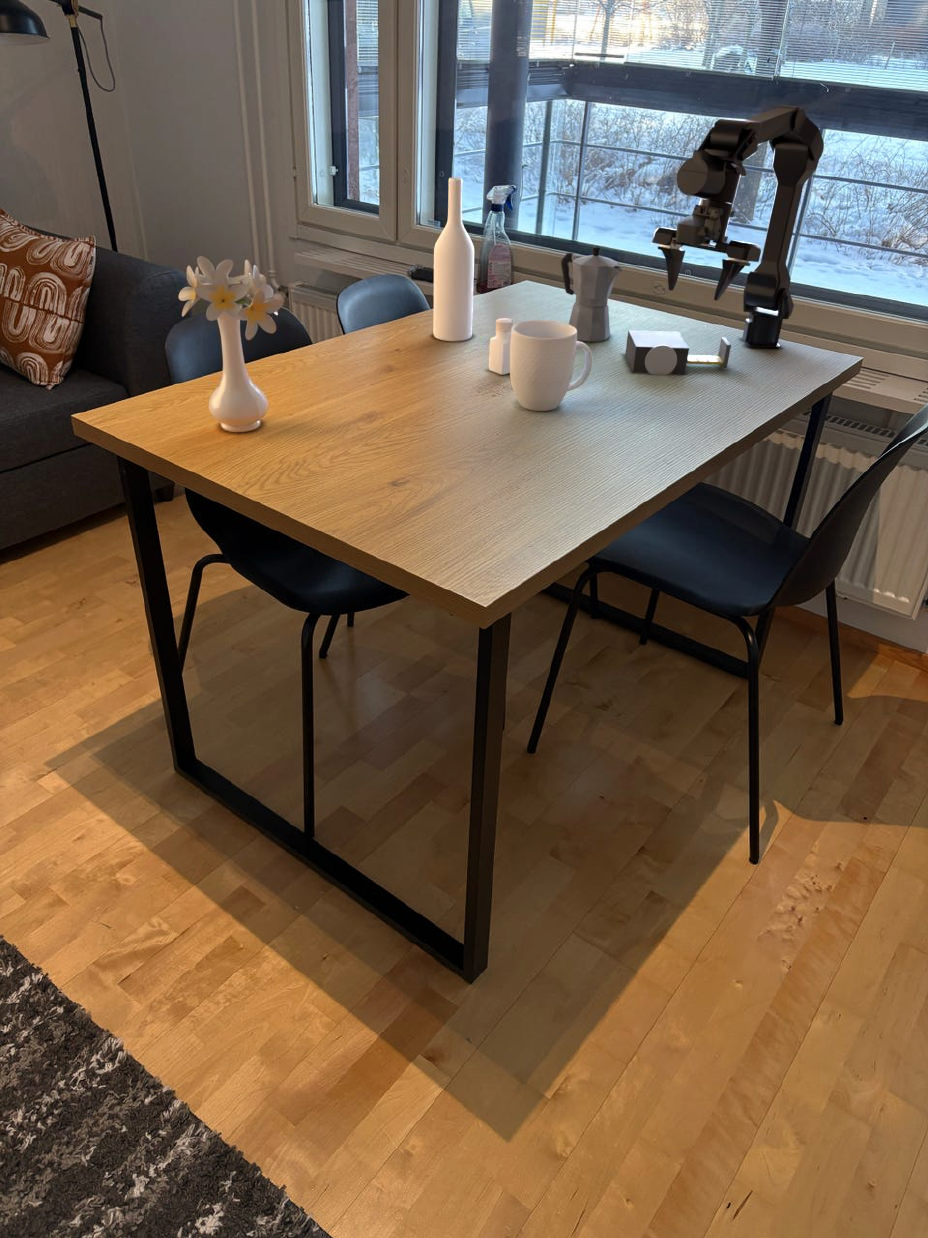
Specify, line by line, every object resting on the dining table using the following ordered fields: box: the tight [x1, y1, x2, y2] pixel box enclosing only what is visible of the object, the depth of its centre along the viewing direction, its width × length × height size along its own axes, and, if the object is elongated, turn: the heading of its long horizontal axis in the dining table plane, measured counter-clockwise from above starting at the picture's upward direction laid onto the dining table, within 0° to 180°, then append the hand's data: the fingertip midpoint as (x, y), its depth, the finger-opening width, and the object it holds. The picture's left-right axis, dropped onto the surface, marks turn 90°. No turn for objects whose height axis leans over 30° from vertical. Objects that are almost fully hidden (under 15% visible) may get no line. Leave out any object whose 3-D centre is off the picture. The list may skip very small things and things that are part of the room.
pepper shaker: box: [488, 317, 514, 376], centre depth 169 cm, size 4×4×10 cm
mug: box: [509, 319, 593, 412], centre depth 154 cm, size 15×11×13 cm
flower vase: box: [178, 255, 284, 433], centre depth 139 cm, size 13×18×25 cm
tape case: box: [624, 329, 690, 376], centre depth 176 cm, size 10×11×6 cm
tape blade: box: [687, 336, 732, 370], centre depth 176 cm, size 10×5×5 cm, turn 89°
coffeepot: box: [560, 245, 623, 343], centre depth 188 cm, size 15×9×18 cm, turn 44°
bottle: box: [432, 177, 475, 342], centre depth 182 cm, size 8×8×30 cm
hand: (693, 295), depth 164 cm, fingers open, 9 cm apart
